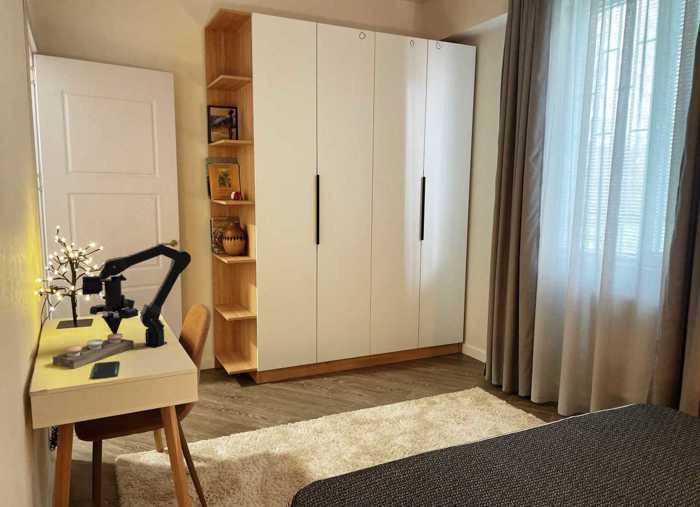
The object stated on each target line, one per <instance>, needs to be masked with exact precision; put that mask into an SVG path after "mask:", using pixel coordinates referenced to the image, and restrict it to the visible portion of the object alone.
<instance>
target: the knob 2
mask: <svg viewBox="0 0 700 507" xmlns="http://www.w3.org/2000/svg"><path fill="white" fill-rule="evenodd" d="M123 336H124V335H123V334H122V333H118V332H117V334H113V333H110V334H108V335H107V339H109V343H112V344H117V343H120V342H121V339H123ZM107 339H106V340H107Z"/></svg>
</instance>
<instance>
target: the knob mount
mask: <svg viewBox="0 0 700 507" xmlns="http://www.w3.org/2000/svg"><path fill="white" fill-rule="evenodd" d="M134 342H135V341H134V340H132V339H125V338H121V342H120V343H117V344H112V343H109V339H105V340H103V344H101V349H98V350H95V351H94V350H89V346H88V345H86V346H85V345H84V346H81V347H82V350H81V351H80V355H79V356H76V357H73V358H71V357H67V353H65V352H63V353H62V352H61V353H59V354H56V355H53V356H52V365H53V366H58V367H63V368H68V369H72V370H73V369H74V370H75V369H78V368H81V367H84V366H86V365H90V364H93V363H95V362H96V363H97V362H98V361H101V360H105V359H107V358H110V357H112V356H116V355H119V354H121V353H124V352H127V351H129V350H133V349H134V347H135V346H134V345H135V344H134Z"/></svg>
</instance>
